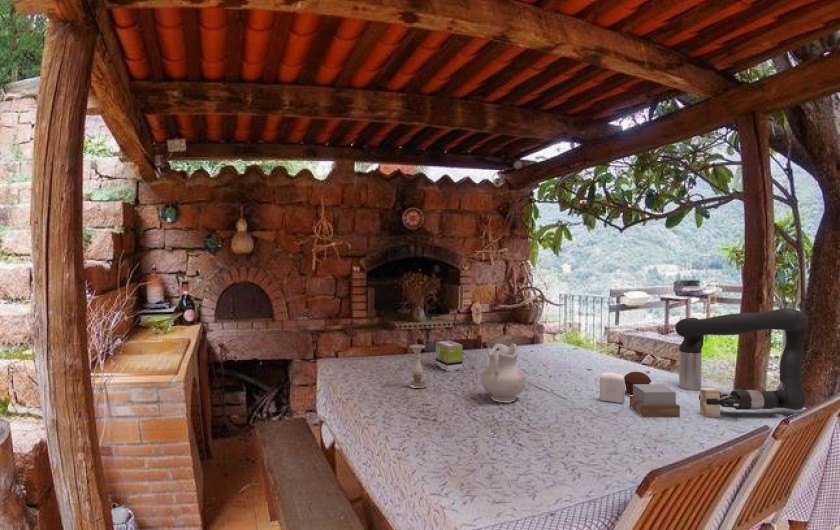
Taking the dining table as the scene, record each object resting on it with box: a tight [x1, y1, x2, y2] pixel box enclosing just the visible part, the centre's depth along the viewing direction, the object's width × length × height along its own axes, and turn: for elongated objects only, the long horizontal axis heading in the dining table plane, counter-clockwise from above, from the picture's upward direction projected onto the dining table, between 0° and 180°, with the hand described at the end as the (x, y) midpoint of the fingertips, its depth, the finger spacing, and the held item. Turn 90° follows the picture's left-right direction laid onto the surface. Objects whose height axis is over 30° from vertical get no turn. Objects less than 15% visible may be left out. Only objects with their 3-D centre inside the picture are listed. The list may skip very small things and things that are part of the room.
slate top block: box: [633, 383, 677, 405], centre depth 202 cm, size 12×12×5 cm
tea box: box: [435, 340, 464, 370], centre depth 281 cm, size 15×10×15 cm
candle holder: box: [409, 343, 426, 386], centre depth 243 cm, size 9×9×20 cm
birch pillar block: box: [699, 387, 721, 418], centre depth 197 cm, size 5×5×10 cm
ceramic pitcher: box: [480, 342, 526, 401], centre depth 220 cm, size 22×20×25 cm
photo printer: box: [599, 372, 626, 404], centre depth 216 cm, size 10×4×12 cm, turn 61°
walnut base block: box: [629, 395, 681, 418], centre depth 202 cm, size 14×14×5 cm
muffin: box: [624, 371, 652, 396], centre depth 227 cm, size 12×11×10 cm
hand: (703, 399), depth 197 cm, fingers closed on birch pillar block, 5 cm apart
